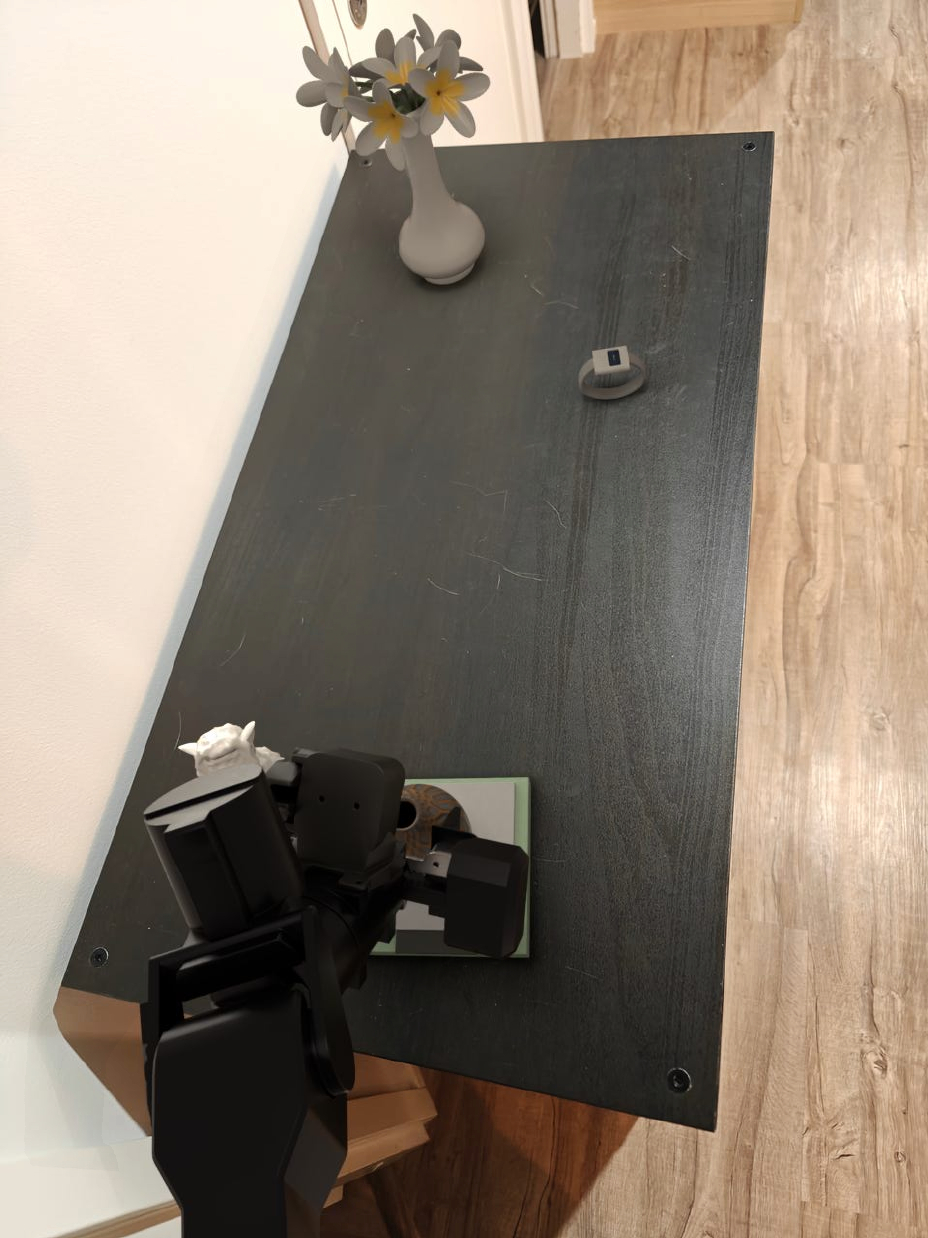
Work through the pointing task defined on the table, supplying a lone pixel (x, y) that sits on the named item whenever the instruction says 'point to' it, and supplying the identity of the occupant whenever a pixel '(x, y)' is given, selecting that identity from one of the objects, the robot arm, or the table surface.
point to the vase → (424, 816)
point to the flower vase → (409, 134)
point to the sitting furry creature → (228, 749)
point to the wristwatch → (611, 363)
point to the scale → (492, 815)
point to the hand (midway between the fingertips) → (416, 804)
